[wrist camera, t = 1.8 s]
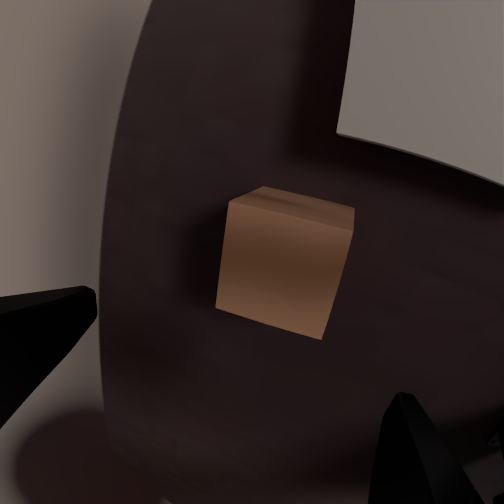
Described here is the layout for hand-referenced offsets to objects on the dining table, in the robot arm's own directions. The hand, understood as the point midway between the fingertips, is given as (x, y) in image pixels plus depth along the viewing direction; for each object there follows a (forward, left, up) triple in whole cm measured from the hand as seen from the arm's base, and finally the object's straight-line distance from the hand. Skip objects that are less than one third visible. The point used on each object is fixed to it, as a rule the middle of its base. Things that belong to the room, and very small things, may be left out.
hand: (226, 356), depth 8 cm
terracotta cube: (0, 0, -11) cm, 11 cm away
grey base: (+12, -7, -11) cm, 17 cm away
